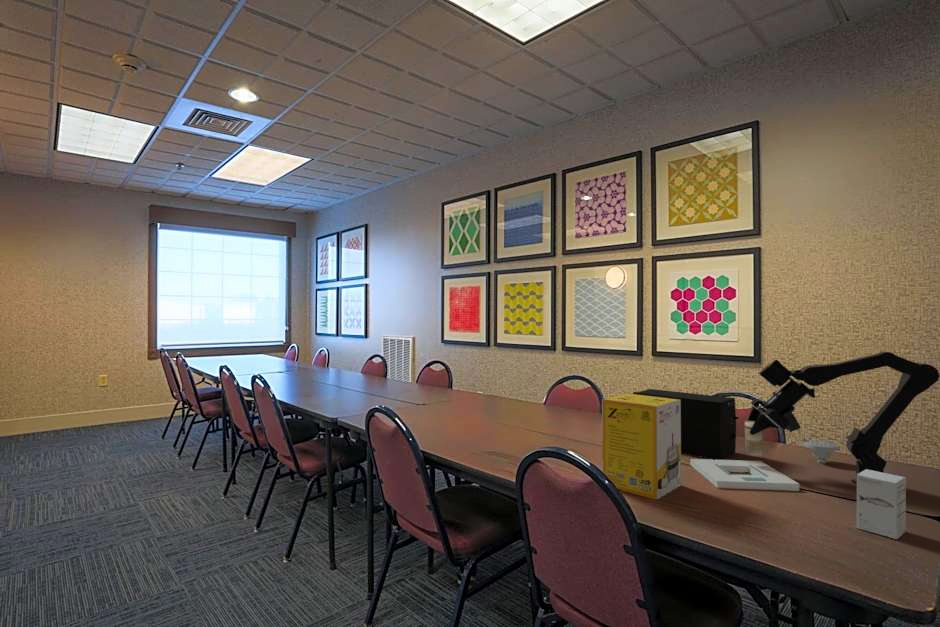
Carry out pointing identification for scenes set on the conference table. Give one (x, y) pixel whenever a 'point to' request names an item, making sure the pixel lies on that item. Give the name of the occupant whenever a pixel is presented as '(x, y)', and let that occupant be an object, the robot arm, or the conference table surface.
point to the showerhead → (821, 449)
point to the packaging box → (642, 443)
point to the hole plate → (759, 479)
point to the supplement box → (881, 503)
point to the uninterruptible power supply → (704, 423)
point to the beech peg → (753, 441)
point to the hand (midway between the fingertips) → (748, 431)
